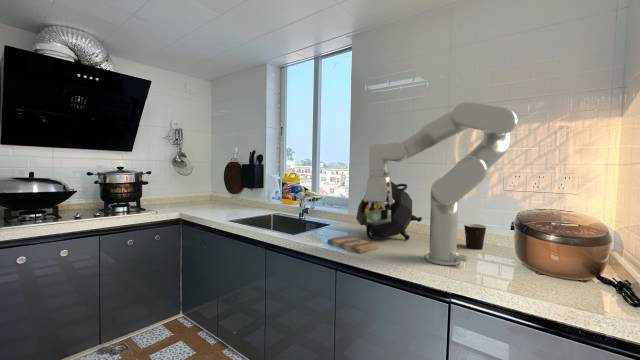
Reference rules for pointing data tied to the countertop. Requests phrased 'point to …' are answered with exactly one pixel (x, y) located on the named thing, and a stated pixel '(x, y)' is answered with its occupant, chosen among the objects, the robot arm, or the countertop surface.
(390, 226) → the black cauldron
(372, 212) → the sanding block
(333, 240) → the oak board
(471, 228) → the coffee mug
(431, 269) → the countertop surface
